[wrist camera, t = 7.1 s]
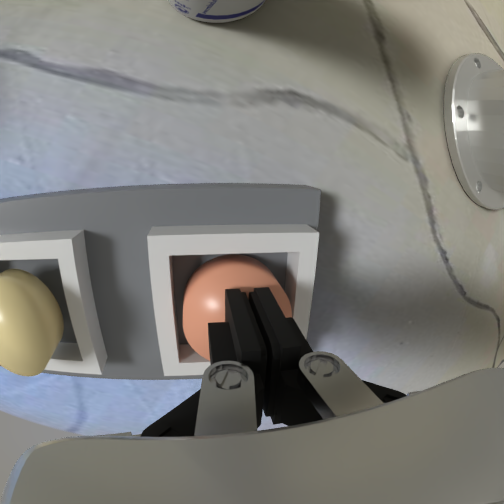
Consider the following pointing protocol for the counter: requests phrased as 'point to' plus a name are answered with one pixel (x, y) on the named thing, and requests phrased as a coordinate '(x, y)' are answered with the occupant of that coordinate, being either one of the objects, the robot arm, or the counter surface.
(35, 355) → the mustard button
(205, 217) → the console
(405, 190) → the counter surface
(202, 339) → the terracotta button
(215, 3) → the energy drink
